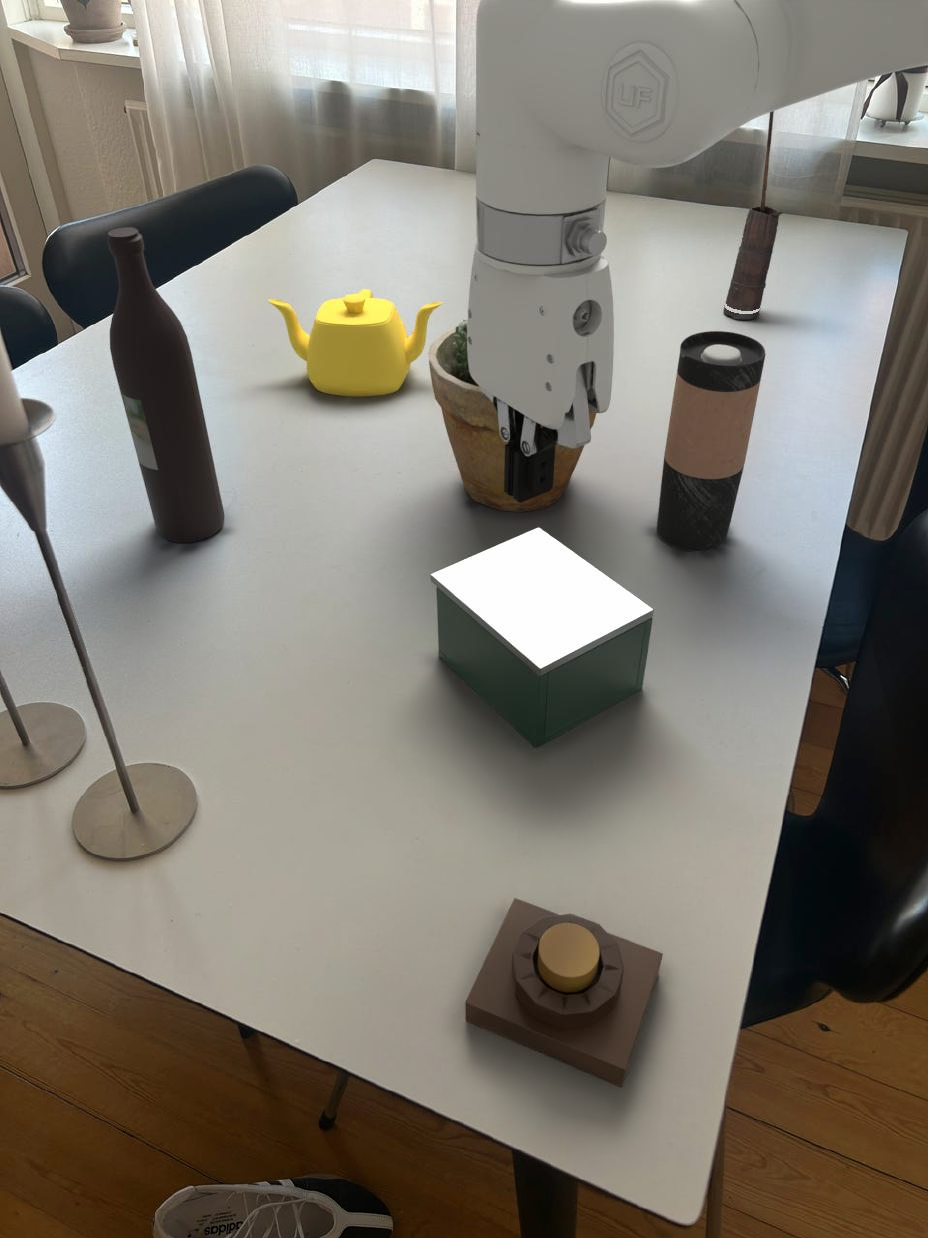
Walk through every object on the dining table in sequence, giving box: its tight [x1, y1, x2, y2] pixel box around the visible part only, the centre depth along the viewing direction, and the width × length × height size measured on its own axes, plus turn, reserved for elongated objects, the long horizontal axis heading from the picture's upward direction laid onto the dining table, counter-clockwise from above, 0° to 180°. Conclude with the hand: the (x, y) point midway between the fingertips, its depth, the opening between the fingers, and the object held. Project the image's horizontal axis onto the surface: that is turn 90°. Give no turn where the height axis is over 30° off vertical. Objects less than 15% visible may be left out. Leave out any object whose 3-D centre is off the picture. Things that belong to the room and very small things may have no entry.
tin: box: [435, 586, 654, 749], centre depth 81 cm, size 14×12×8 cm
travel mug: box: [656, 330, 766, 553], centre depth 93 cm, size 8×8×20 cm
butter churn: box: [723, 111, 784, 321], centre depth 132 cm, size 9×10×28 cm
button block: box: [464, 897, 664, 1088], centre depth 59 cm, size 10×8×4 cm
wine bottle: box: [106, 226, 225, 544], centre depth 91 cm, size 7×7×30 cm
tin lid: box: [430, 526, 655, 676], centre depth 78 cm, size 14×12×1 cm
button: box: [538, 923, 600, 993], centre depth 58 cm, size 4×4×2 cm
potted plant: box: [427, 254, 605, 513], centre depth 98 cm, size 18×19×25 cm
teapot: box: [267, 288, 443, 397], centre depth 125 cm, size 22×16×11 cm
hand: (528, 491), depth 69 cm, fingers closed
